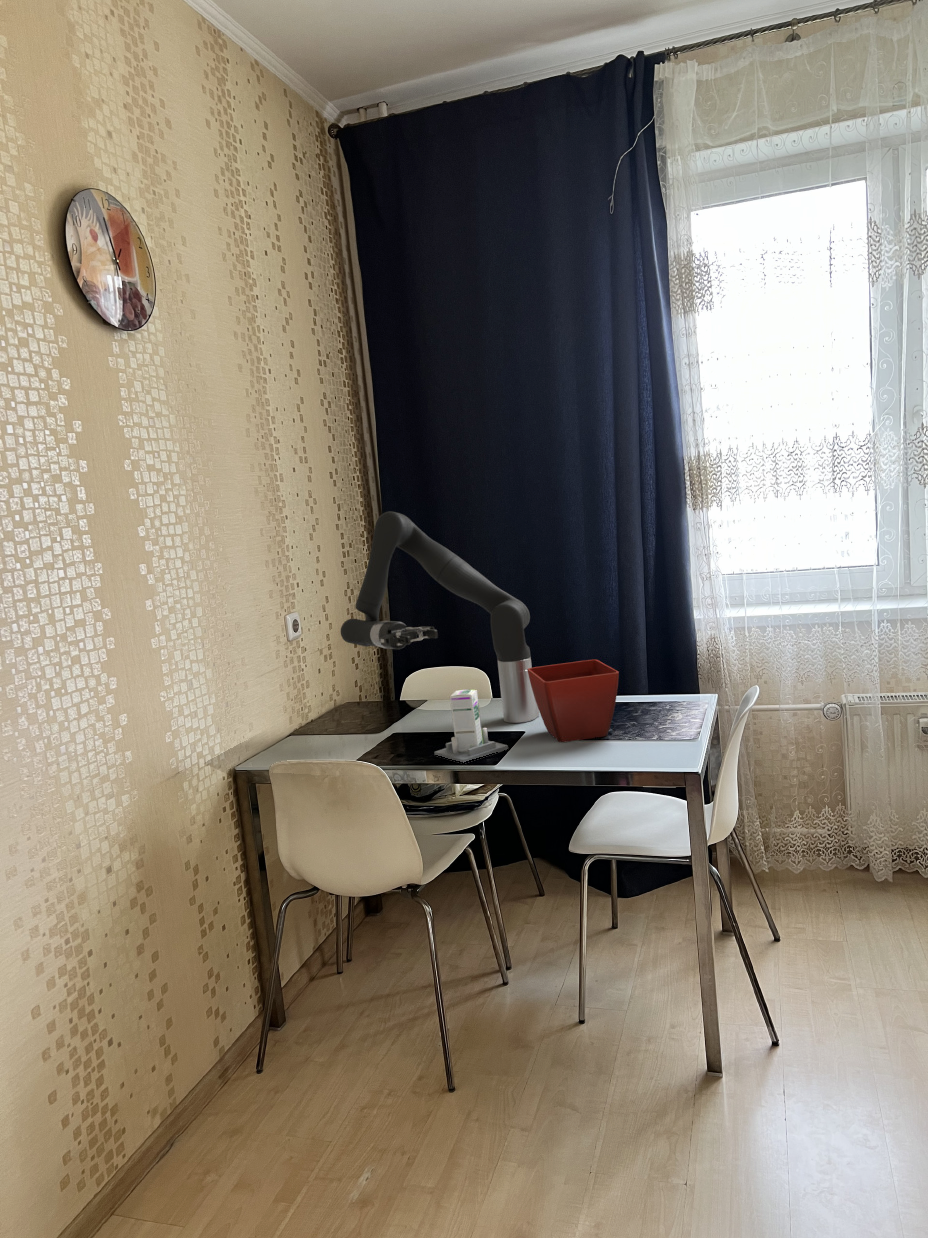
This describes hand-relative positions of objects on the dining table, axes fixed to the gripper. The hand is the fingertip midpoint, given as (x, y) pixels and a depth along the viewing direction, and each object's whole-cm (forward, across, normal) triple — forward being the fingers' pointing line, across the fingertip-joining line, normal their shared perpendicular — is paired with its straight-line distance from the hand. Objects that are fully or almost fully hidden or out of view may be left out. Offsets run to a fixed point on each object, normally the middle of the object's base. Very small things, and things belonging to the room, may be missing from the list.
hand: (423, 637), depth 235 cm
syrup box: (+15, -1, +28) cm, 32 cm away
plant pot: (+26, +26, +30) cm, 47 cm away
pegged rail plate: (+15, 0, +29) cm, 32 cm away
